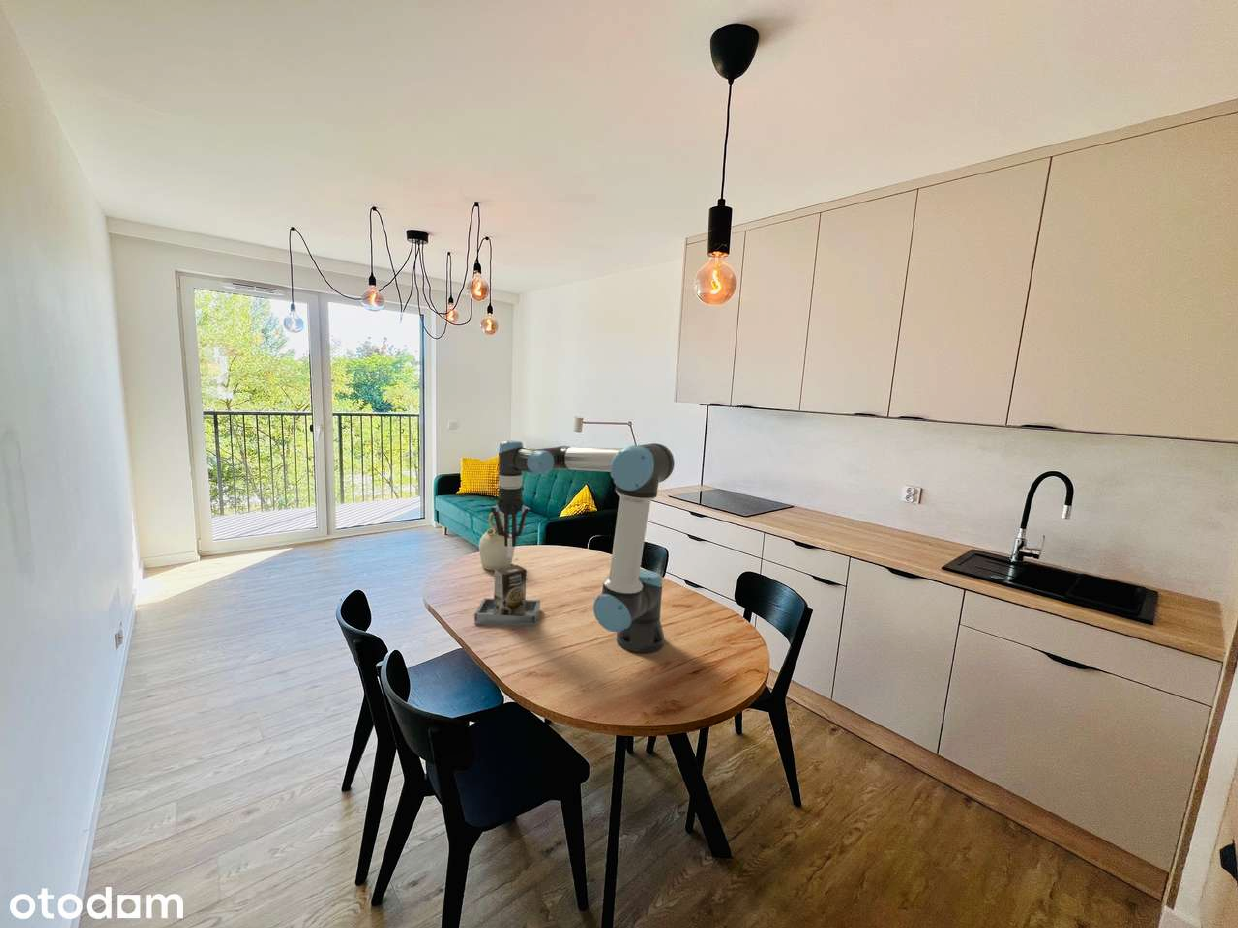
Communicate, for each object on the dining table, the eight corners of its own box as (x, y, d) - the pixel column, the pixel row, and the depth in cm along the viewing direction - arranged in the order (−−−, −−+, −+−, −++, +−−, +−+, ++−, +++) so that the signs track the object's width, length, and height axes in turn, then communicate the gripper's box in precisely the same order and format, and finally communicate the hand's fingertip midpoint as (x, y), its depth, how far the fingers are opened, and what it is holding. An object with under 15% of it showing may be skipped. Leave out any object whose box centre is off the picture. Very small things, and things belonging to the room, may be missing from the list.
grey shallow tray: (539, 609, 178) (540, 600, 177) (534, 626, 166) (534, 616, 165) (483, 607, 177) (483, 598, 177) (474, 623, 165) (474, 613, 165)
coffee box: (502, 621, 166) (503, 574, 164) (493, 614, 170) (493, 569, 168) (526, 613, 172) (527, 569, 170) (516, 607, 177) (517, 563, 174)
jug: (495, 575, 209) (496, 517, 205) (471, 566, 217) (471, 510, 213) (521, 565, 221) (523, 510, 218) (497, 557, 230) (498, 505, 226)
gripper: (532, 485, 169) (531, 552, 172) (493, 484, 168) (493, 551, 172) (528, 489, 161) (527, 559, 165) (488, 488, 161) (488, 558, 164)
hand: (510, 555), depth 168 cm, fingers closed
